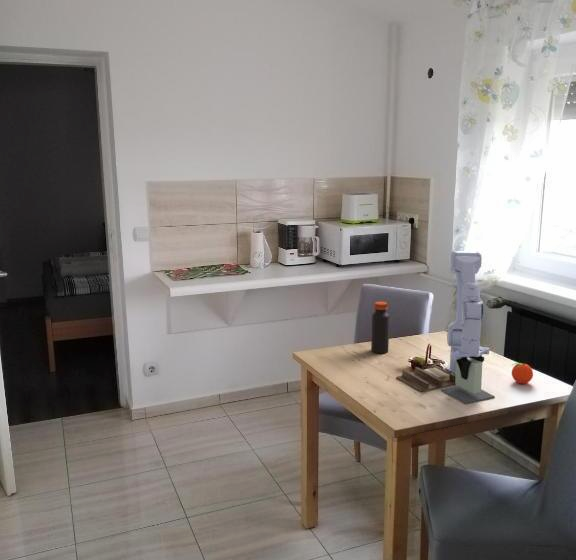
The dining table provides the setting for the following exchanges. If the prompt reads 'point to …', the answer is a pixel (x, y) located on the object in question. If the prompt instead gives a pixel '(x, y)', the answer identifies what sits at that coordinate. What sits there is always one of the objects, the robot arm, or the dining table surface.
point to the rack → (425, 379)
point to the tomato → (522, 373)
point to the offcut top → (437, 373)
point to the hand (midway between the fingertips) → (468, 377)
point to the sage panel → (470, 377)
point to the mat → (467, 395)
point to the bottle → (380, 329)
